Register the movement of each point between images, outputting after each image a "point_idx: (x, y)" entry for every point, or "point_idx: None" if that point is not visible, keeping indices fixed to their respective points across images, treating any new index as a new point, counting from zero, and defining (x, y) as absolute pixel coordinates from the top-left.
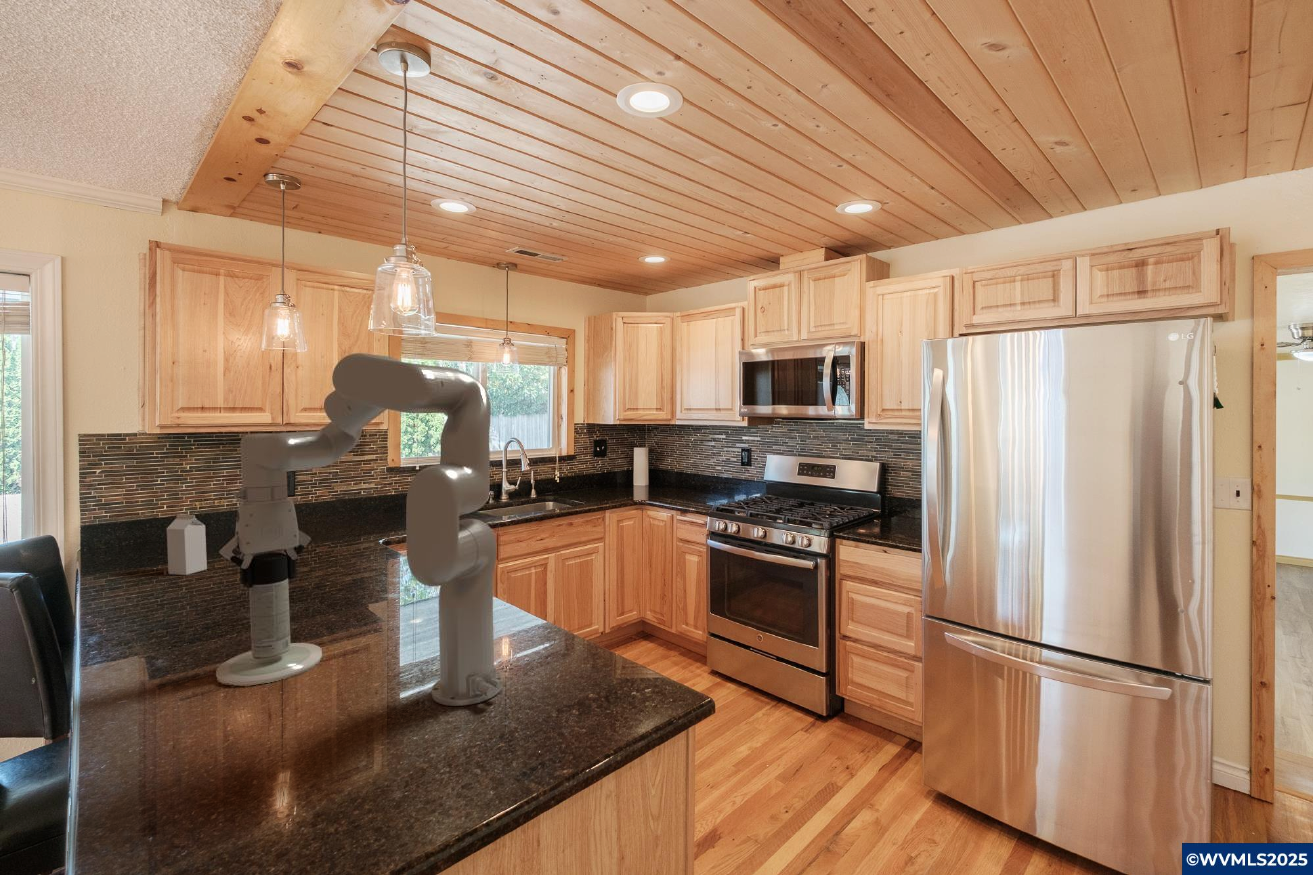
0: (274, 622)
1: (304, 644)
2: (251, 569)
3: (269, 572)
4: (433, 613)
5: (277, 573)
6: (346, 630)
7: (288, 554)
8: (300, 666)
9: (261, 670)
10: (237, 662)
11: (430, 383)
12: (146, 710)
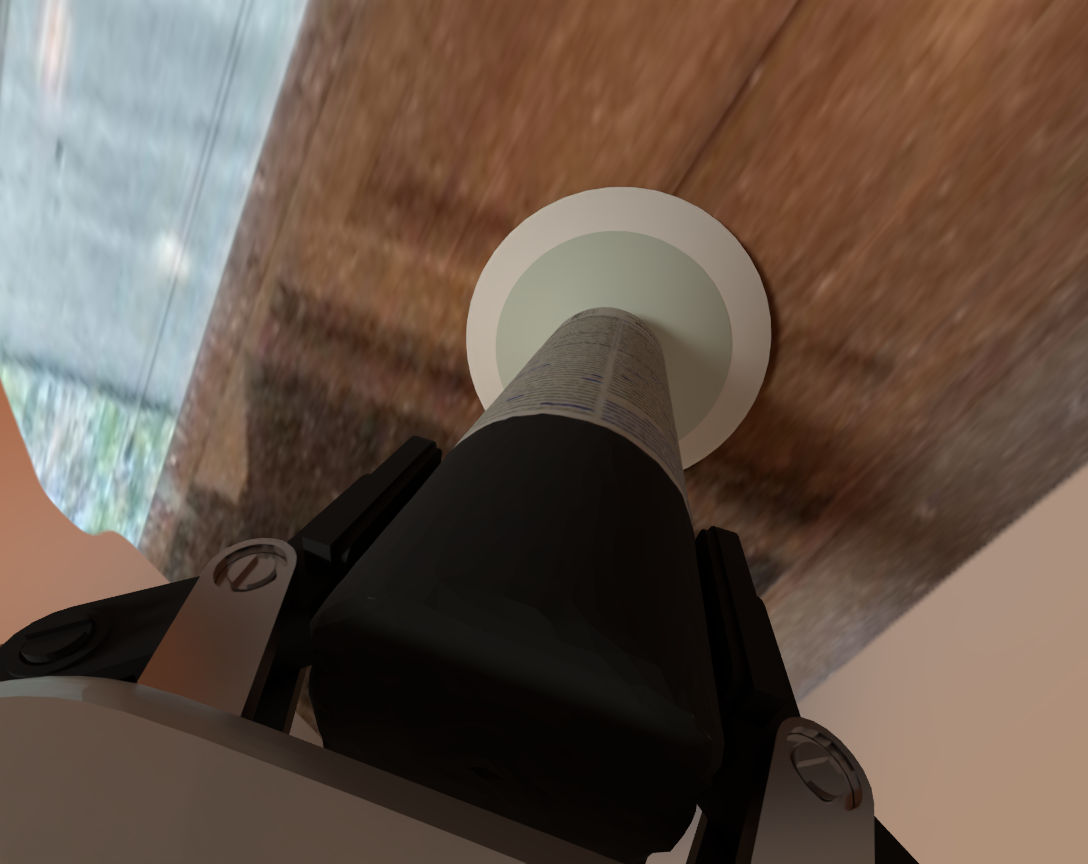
0: (619, 339)
1: (481, 380)
2: (739, 667)
3: (617, 501)
4: (114, 261)
5: (545, 457)
6: (347, 395)
7: (278, 636)
8: (601, 200)
9: (680, 301)
10: None
11: None
12: (979, 393)
